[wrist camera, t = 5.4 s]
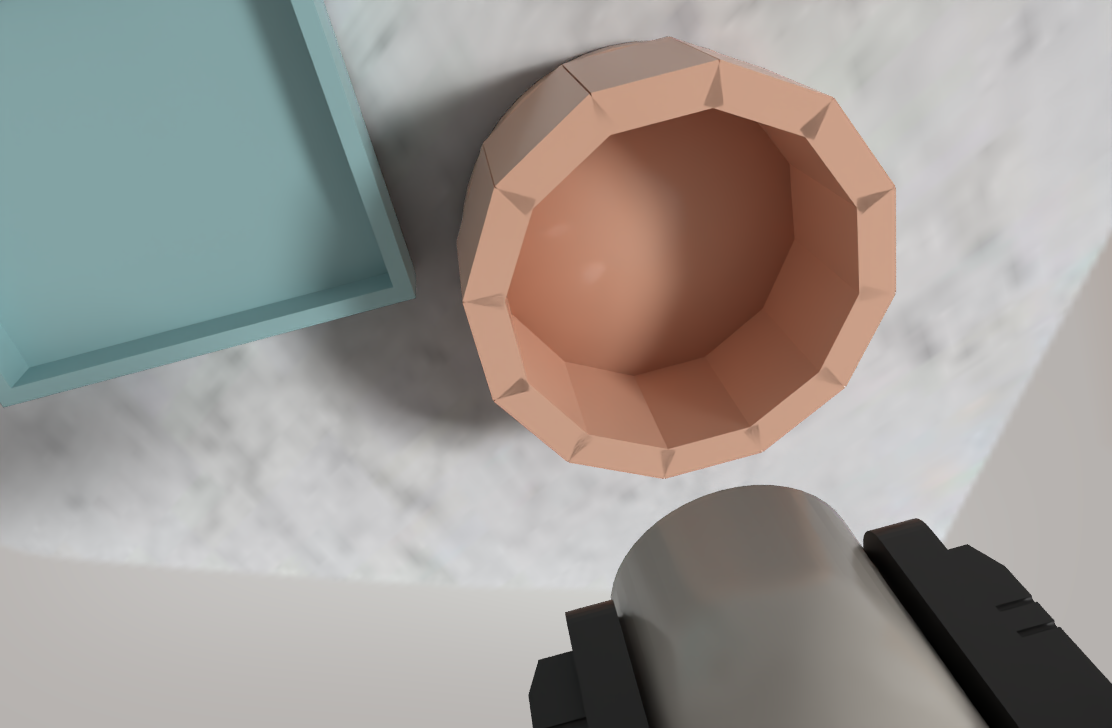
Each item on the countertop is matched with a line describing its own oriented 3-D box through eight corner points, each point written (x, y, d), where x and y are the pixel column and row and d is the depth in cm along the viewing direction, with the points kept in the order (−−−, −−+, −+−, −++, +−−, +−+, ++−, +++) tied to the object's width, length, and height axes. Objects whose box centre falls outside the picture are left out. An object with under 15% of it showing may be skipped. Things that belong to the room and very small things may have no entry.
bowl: (413, 97, 22) (411, 139, 17) (801, -5, 22) (895, 13, 18) (512, 421, 27) (529, 515, 23) (821, 338, 27) (896, 415, 23)
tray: (-407, -287, 16) (-492, -308, 14) (177, -431, 16) (153, -467, 15) (29, 377, 24) (3, 407, 22) (416, 275, 24) (415, 297, 23)
